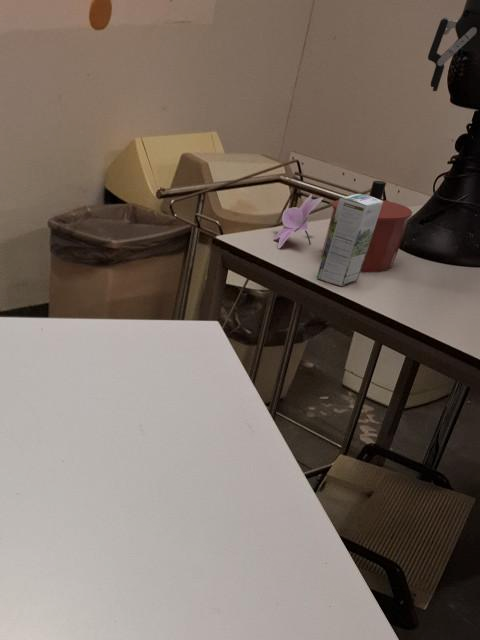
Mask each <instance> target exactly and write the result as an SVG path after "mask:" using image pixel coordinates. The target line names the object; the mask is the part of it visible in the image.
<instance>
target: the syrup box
mask: <svg viewBox="0 0 480 640" xmlns="http://www.w3.org/2000/svg"><path fill="white" fill-rule="evenodd" d="M338 200H339V202H338V206H337V209H336V213H335V216H334V220H333V223H332V226H331V230H330V233H329V237H328V240H327V244H326V247H325V251H324V254H323V257H322V258H321V262H320V264H319V268H318V272H317V275H316V278H317V280H320V281H324V282H326V283H331V284H333V285H337V286H339V287H343V286H345V285H348V284H353V283H355V282H357V281H358V280H359V278H360V276H361V275H360V274H361V272H362V271H361V269H362V266H363V263H364V259H365V256H366V253H367V250H368V247H369V244H370V241H371V238H372V235H373V232H374V229H375V226H376V222H377V219H378V216H379V213H380V210H381V207H382V204H383V202H382V201H381V200H382V199H381V200H379V199H377V198H374V197H371V196H369V194H363V193H355V194H350V195H347V196H342V197H340V198H339V199H338Z"/></svg>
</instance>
